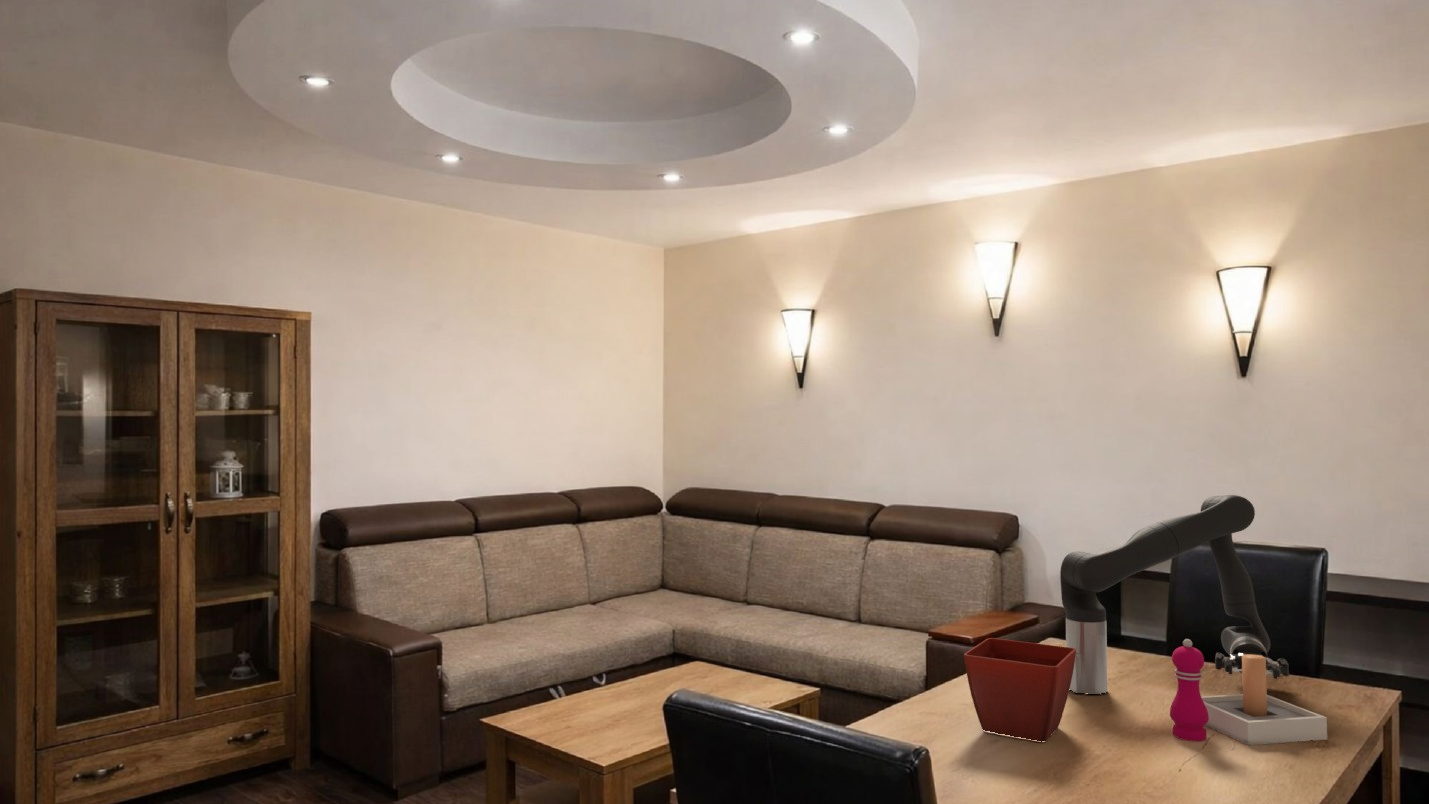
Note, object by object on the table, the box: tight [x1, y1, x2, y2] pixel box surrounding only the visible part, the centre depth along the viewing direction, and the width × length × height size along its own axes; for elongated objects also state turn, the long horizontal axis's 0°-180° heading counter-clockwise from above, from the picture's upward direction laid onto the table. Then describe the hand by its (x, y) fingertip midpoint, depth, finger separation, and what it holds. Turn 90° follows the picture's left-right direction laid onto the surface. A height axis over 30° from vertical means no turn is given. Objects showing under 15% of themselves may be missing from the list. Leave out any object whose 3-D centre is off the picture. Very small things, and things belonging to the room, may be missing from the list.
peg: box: [1241, 654, 1268, 717], centre depth 201 cm, size 4×4×14 cm
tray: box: [1201, 693, 1328, 746], centre depth 201 cm, size 18×18×4 cm
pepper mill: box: [1169, 638, 1209, 742], centre depth 196 cm, size 7×7×20 cm
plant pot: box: [963, 637, 1076, 742], centre depth 201 cm, size 19×19×17 cm
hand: (1252, 671), depth 206 cm, fingers open, 8 cm apart
